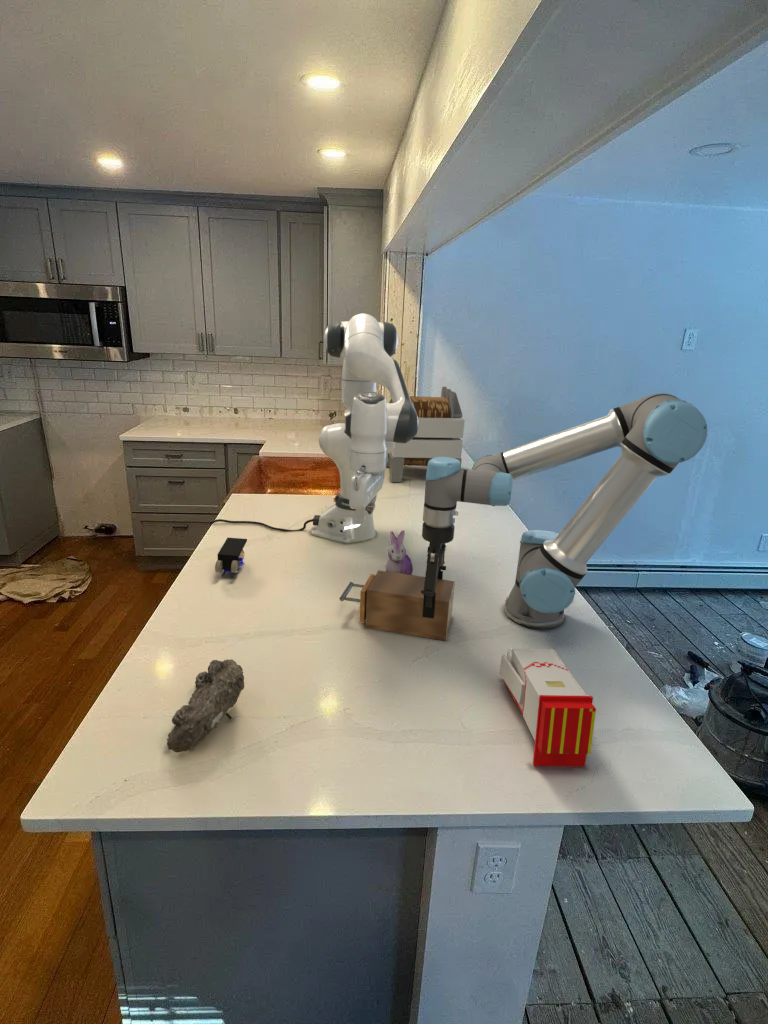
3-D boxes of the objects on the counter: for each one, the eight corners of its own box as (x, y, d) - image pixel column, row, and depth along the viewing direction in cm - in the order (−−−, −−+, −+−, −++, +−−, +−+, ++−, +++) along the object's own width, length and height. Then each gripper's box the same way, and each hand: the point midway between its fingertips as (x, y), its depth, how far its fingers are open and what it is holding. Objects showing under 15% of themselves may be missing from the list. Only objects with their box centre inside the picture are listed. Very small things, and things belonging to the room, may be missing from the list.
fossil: (192, 660, 117) (244, 628, 112) (224, 691, 120) (276, 661, 115) (142, 746, 98) (202, 712, 93) (182, 779, 101) (242, 748, 96)
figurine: (392, 589, 160) (394, 540, 155) (375, 574, 168) (377, 527, 163) (420, 583, 164) (424, 535, 159) (403, 569, 172) (406, 523, 167)
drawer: (338, 618, 142) (338, 588, 139) (349, 599, 152) (350, 570, 149) (433, 633, 137) (436, 602, 134) (439, 613, 147) (441, 583, 144)
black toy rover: (238, 584, 162) (249, 557, 175) (236, 562, 158) (247, 536, 172) (215, 584, 161) (227, 556, 175) (212, 561, 158) (225, 535, 171)
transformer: (382, 463, 289) (386, 382, 275) (445, 464, 293) (451, 384, 279) (390, 482, 257) (394, 392, 243) (460, 483, 261) (468, 394, 247)
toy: (549, 630, 124) (606, 704, 95) (544, 686, 127) (597, 774, 98) (495, 629, 124) (534, 703, 95) (490, 685, 127) (527, 774, 97)
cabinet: (365, 627, 140) (366, 589, 137) (376, 606, 151) (378, 570, 147) (445, 640, 136) (449, 602, 133) (451, 617, 147) (454, 581, 143)
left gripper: (370, 473, 127) (368, 531, 131) (389, 453, 146) (387, 504, 150) (343, 470, 128) (342, 528, 132) (365, 451, 147) (364, 502, 151)
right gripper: (448, 543, 121) (440, 632, 129) (460, 508, 143) (452, 586, 151) (413, 539, 123) (408, 626, 130) (430, 505, 145) (425, 581, 152)
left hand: (366, 515), depth 141 cm, fingers open, 8 cm apart
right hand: (432, 605), depth 141 cm, fingers closed on cabinet, 11 cm apart
